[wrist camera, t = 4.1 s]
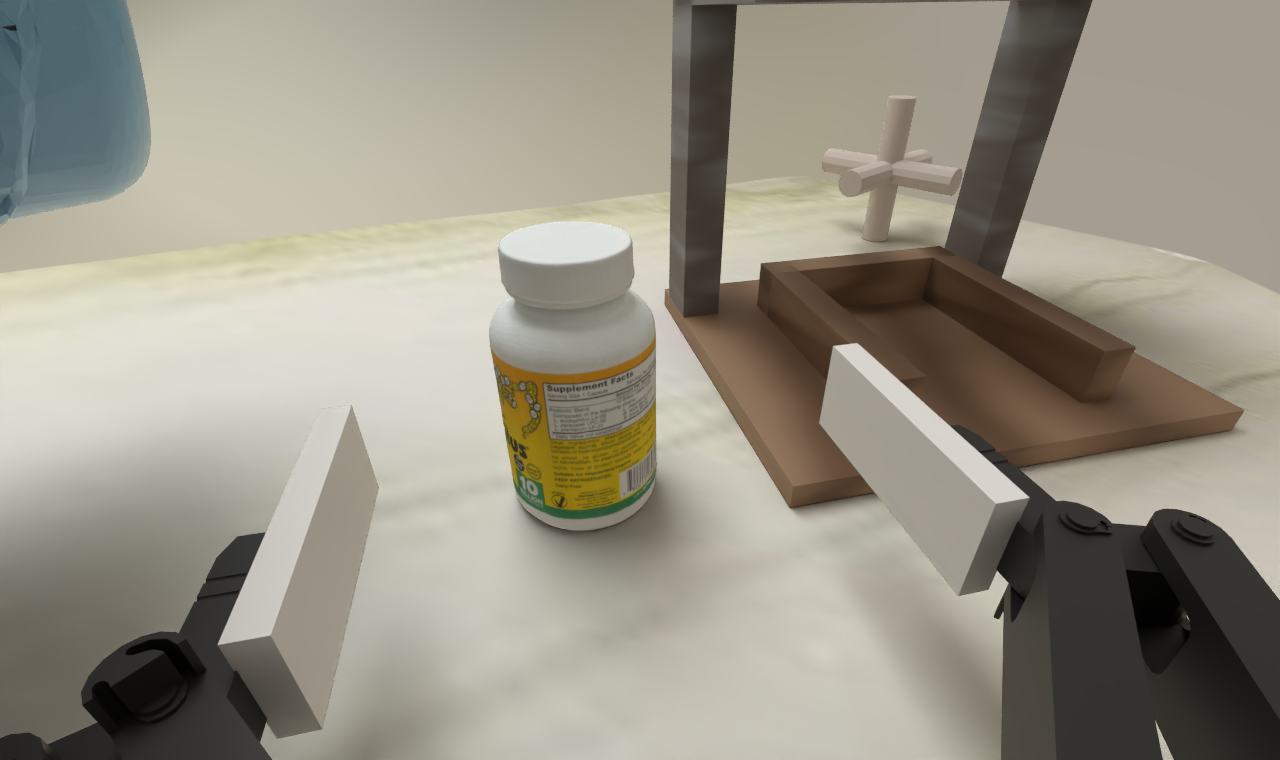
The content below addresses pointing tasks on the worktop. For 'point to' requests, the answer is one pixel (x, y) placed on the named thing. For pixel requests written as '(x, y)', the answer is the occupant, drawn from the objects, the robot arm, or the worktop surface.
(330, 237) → the worktop surface
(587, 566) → the worktop surface
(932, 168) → the pipe connector
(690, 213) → the keeper holder
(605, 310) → the supplement bottle
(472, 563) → the worktop surface
